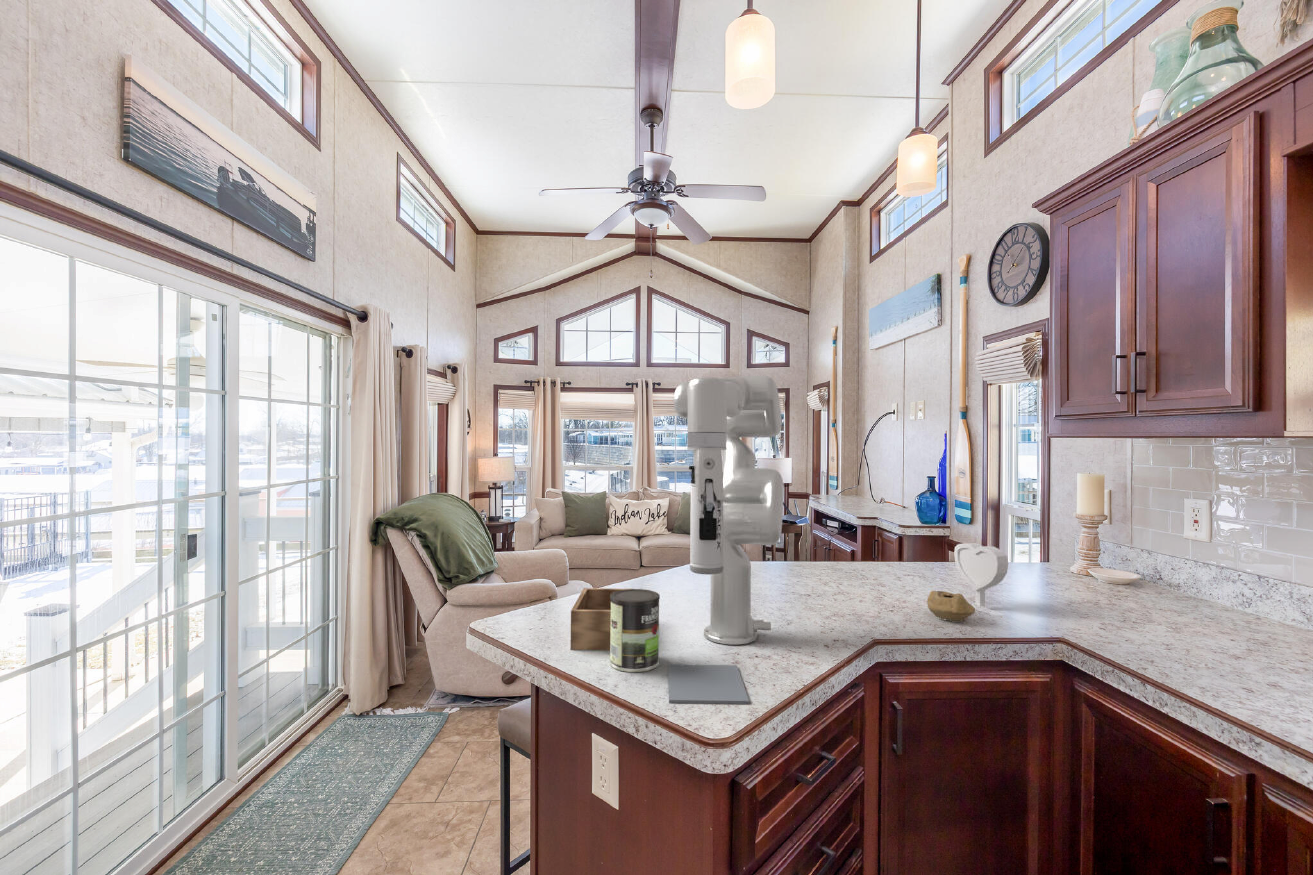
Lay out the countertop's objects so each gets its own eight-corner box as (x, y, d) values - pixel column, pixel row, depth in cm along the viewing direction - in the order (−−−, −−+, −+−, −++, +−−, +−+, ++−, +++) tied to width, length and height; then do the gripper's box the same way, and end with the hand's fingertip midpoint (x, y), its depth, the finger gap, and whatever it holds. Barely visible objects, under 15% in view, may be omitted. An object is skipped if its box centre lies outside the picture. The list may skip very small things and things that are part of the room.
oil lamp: (944, 608, 156) (944, 580, 156) (986, 625, 142) (986, 594, 142) (910, 611, 154) (910, 582, 154) (949, 628, 139) (949, 596, 139)
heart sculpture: (952, 601, 163) (951, 540, 164) (966, 600, 165) (966, 540, 165) (995, 617, 148) (995, 550, 149) (1010, 616, 150) (1010, 549, 150)
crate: (634, 622, 142) (634, 588, 142) (629, 650, 122) (629, 611, 122) (583, 621, 142) (583, 588, 142) (570, 649, 122) (570, 610, 122)
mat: (736, 667, 112) (736, 665, 112) (749, 703, 96) (749, 700, 96) (668, 666, 113) (668, 664, 113) (669, 702, 97) (669, 699, 97)
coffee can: (668, 660, 116) (668, 592, 117) (641, 676, 108) (641, 604, 108) (628, 650, 122) (628, 586, 122) (599, 665, 113) (600, 596, 113)
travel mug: (686, 567, 108) (686, 465, 108) (719, 567, 108) (720, 465, 109) (690, 575, 102) (691, 466, 102) (726, 574, 102) (726, 466, 103)
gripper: (732, 442, 97) (731, 545, 96) (721, 443, 114) (721, 530, 114) (689, 441, 97) (688, 544, 97) (685, 443, 114) (684, 530, 114)
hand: (706, 536), depth 105 cm, fingers closed on travel mug, 6 cm apart
